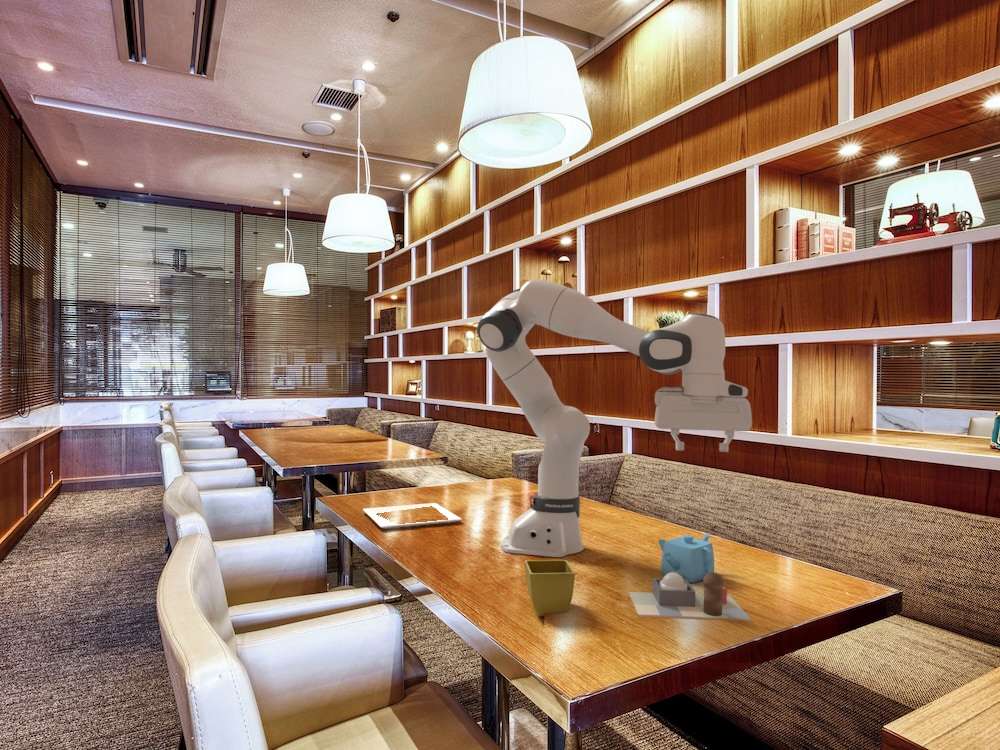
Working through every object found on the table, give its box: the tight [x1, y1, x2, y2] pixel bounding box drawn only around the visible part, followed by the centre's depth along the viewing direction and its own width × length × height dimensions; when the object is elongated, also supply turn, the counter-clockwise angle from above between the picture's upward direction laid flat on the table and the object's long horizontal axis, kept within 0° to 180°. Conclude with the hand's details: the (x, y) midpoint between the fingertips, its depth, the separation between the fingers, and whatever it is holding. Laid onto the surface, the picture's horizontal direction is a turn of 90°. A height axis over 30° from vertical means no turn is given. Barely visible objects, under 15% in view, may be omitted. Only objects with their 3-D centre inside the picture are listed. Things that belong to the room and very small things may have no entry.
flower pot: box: [524, 559, 576, 617], centre depth 114 cm, size 9×9×9 cm
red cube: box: [722, 586, 728, 604], centre depth 118 cm, size 3×3×3 cm
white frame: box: [362, 502, 463, 530], centre depth 190 cm, size 26×26×2 cm
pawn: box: [702, 571, 725, 616], centre depth 112 cm, size 4×4×8 cm
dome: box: [660, 572, 687, 591], centre depth 118 cm, size 5×5×5 cm
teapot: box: [657, 533, 715, 584], centre depth 134 cm, size 18×14×10 cm
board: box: [628, 578, 754, 622], centre depth 115 cm, size 21×13×4 cm, turn 86°
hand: (701, 450), depth 127 cm, fingers open, 8 cm apart
